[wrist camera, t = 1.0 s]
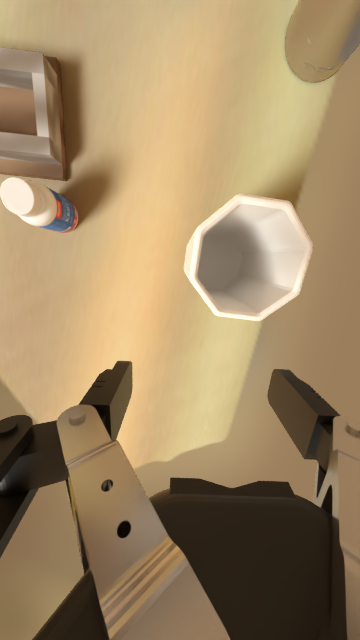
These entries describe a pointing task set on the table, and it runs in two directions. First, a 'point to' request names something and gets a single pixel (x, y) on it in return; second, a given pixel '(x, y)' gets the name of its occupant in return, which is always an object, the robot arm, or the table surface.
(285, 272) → the cup
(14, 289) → the table surface
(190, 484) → the robot arm
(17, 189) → the pill bottle
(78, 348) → the table surface
